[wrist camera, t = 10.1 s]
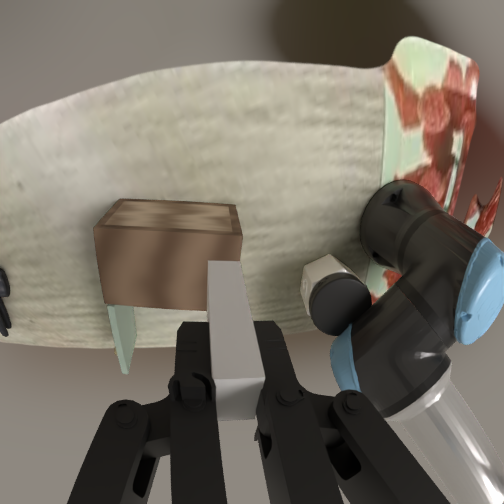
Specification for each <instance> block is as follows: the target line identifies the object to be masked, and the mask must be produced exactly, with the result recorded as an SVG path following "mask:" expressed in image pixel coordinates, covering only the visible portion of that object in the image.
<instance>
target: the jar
mask: <svg viewBox="0 0 504 504" xmlns="http://www.w3.org/2000/svg"><path fill="white" fill-rule="evenodd" d="M300 292H301V295H302V298H303V302H304V305H305V308H306V312H307V314H308V315H309V316H311V319H312V320H313V322H314V324H315V325H316V327H317V328H318V329H319V330H321V331H322V332H323V333H326V334H328V335H332V336H340V335H341V334H342V333H343V332H344V331H345V330H346V329H347V328H348V327H349V324H351V323H353V322H355V321H356V320H357V319H358V318H359V317H360V316H361V315H362V314H363V313H365V312H366V311H367V310H368V309H369V308H370V307H371V306H372V300H371V295H370V292H369V290H368V289H367V286H366V285H365V284H364V283H363V282H362V280H361V279H360V278H359V277H358V276H357V275H356V274H355V273H354V272H353V271H352V270H351V269H350V268H349V267H347V266H346V265H345V264H343V263H342V262H341V261H339V260H338V259H337V258H335V257H334V256H332V255H331V254H328V255H326V256H324V257H322V258H320V259H317V260H315V261H313V262H311V263H309V264H307V265H305V266H304V269H303V275H302V280H301V287H300Z"/></svg>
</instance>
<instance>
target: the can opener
mask: <svg viewBox="0 0 504 504" xmlns="http://www.w3.org/2000/svg"><path fill="white" fill-rule="evenodd" d="M9 295H10V287H9V282H8V279H7V276H6V274H5V272H4V271H3V270H2V269H0V332H1V334H2V335H3V336H5V337H7V336H8V335H9V334H8V331H7V329H10V328H11V322H10V319H9V316H8V313H7V311H6V309H5V306H4V304H3V302H2V299H1V297H8V296H9ZM6 328H7V329H6Z"/></svg>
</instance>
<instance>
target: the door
mask: <svg viewBox="0 0 504 504" xmlns="http://www.w3.org/2000/svg"><path fill="white" fill-rule="evenodd" d="M107 309H108V314H109V319H110V324H111V329H112V334H113V338H114V343H115V349H114V352H115V355H118V359H119V362H120V367H121V370H122V373H123V374H128V373H129V368H130V363H131V359H132V354H133V350H134V345H135V341H136V337H137V333H136V326H135V318H134V310H133V306H124V305H114V304H108V305H107Z"/></svg>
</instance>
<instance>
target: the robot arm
mask: <svg viewBox="0 0 504 504" xmlns="http://www.w3.org/2000/svg"><path fill="white" fill-rule="evenodd" d="M360 238H361V243H362V246H363V248H364V250H365V252H366V253H367V255H368V256H369V257H370V258H371V259H372V260H373V261H374V262H375V263H376V264H378V265H379V266H381V267H383V268H386V269H388V270H391V271H393V272H396V273H398V274H401V275H402V277H401V278H400V279H399V280H398V281H397V282H396V283H394V284H393V285H392V286H391V287H390V288H389V289H388V290H387V291H386V292H385V293H384V294H383V295H382V296H381V297H380V298H379V299H378V300H377V301H376V302H375V303H374V304H373V305H372V306H371V307H370V308H369V309H368V310H367V311H366V312H365V313H363V314H362V315H361V316H360V317H359V318H358V319H357V320H356V321H355V322H353V323H351V324H349V327H348V328H347V329H346V330H345V331H344V332H343V333H342V334H341V335H340V336H338V337H337V338H336V339H335V340H334V341H333V343H332V346H331V350H330V359H331V366H332V370H333V373H334V376H335V378H336V381H337V383H338V386H339V388H340V389H341V392H340V393H338V394H337V395H336V396H335V397H332V396H324V395H318V394H313V393H311V392H309V391H307V390H306V389H305V388H304V387H302V386H301V385H300V384H299V382H298V380H297V378H296V375H295V372H294V369H293V365H292V362H291V359H290V356H289V353H288V350H287V346H286V343H285V341H284V337H283V334H282V331H281V329H280V328H279V326H278V325H277V324H276V323H275V322H274V321H253V319H252V314H251V310H250V305H249V300H248V296H247V291H246V286H245V282H244V277H243V272H242V267H241V263H240V261H208V278H207V322H183V323H182V324H181V326H180V327H179V329H178V330H177V343H176V356H175V374H174V375H173V376H172V378H171V379H170V381H169V384H168V389H169V395H168V396H167V397H166V398H164V399H163V400H161V401H158V402H155V403H150V404H146V405H141V404H139V403H137V402H135V401H132V400H120V401H116V402H115V403H113V404H111V405H110V406H109V408H108V409H107V410H106V412H105V415H104V417H103V419H102V421H101V423H100V425H99V428H98V430H97V432H96V434H95V436H94V439H93V441H92V443H91V446H90V448H89V450H88V453H87V455H86V457H85V460H84V462H83V464H82V467H81V469H80V472H79V474H78V476H77V479H76V482H75V484H74V487H73V489H72V492H71V495H70V497H69V500H68V503H67V504H147V501H148V497H149V494H150V490H151V487H152V483H153V480H154V477H155V473H156V470H157V467H158V463H159V460H160V457H161V456H165V455H170V459H171V460H170V461H171V462H170V463H171V492H172V493H171V495H172V504H227V498H226V491H225V483H224V475H223V467H222V460H221V450H220V440H219V431H218V421H226V420H227V421H228V420H247V419H255V415H257V420H258V426H257V430H256V433H255V437H254V441H257V440H258V443H259V448H260V453H261V459H262V464H263V469H264V474H265V479H266V484H267V489H268V494H269V499H270V504H344V503H343V500H342V496H341V493H340V490H339V487H340V488H341V490H342V491H343V493H344V495H345V496H346V498H347V499H348V500H349V502H350V504H450V503H449V501H448V500H447V499H446V497H445V496H444V495H443V494H442V492H441V491H440V490H439V488H438V487H437V486H436V485H435V483H434V482H433V481H432V480H431V478H430V477H429V476H428V474H427V473H426V472H425V471H424V469H423V468H422V467H421V466H420V464H419V463H418V462H417V460H416V459H415V458H414V456H413V455H412V454H411V453H410V451H409V450H408V449H407V447H406V446H405V445H404V444H403V442H402V441H401V440H400V439H399V437H398V436H397V435H396V433H395V432H394V431H393V430H392V428H391V427H390V426H389V425H388V424H387V422H386V421H385V420H389V421H398V422H399V423H400V424H401V425H402V427H403V428H404V430H405V431H406V432H407V434H408V435H409V437H410V438H411V439H412V440H413V442H414V443H415V445H416V446H417V448H418V449H419V450H420V452H421V453H422V455H423V456H424V458H425V459H426V460H427V462H428V463H429V464H430V466H431V467H432V469H433V470H434V472H435V473H436V475H437V476H438V477H439V479H440V480H441V482H442V483H443V484H444V486H445V487H446V489H447V490H448V492H449V493H450V495H451V496H452V498H453V499H454V500H455V502H456V503H457V504H504V464H503V462H502V461H501V459H500V457H499V455H498V453H497V452H496V450H495V448H494V447H493V445H492V443H491V441H490V440H489V438H488V436H487V435H486V433H485V431H484V430H483V428H482V427H481V425H480V423H479V422H478V420H477V419H476V417H475V416H474V414H473V412H472V411H471V409H470V408H469V406H468V405H467V403H466V402H465V400H464V399H463V398H462V396H461V395H460V393H459V392H458V390H457V389H456V387H455V386H454V384H453V383H452V382H451V380H450V373H451V367H452V361H451V360H450V359H449V357H448V356H447V354H446V353H445V351H447V349H448V348H449V347H450V346H451V345H453V343H455V341H458V342H459V343H462V344H464V345H468V344H471V343H473V342H475V340H476V339H477V338H480V337H481V336H482V335H483V334H484V333H485V332H486V330H487V329H488V328H489V327H490V326H491V324H492V323H493V321H494V320H495V318H496V317H497V315H498V313H499V311H500V309H501V308H502V305H503V303H504V253H503V252H502V251H501V250H500V249H499V248H497V247H496V246H495V245H494V244H493V243H492V241H491V240H490V239H488V238H485V237H484V236H482V235H481V234H479V233H478V232H476V231H475V230H473V229H472V228H470V227H469V226H467V225H466V224H464V223H462V222H461V221H459V220H458V219H456V218H454V217H453V216H451V215H449V214H448V213H446V212H445V211H444V210H443V209H442V208H441V206H440V205H439V204H438V202H437V201H436V200H435V198H434V197H433V196H432V195H431V193H430V192H429V191H428V190H427V189H425V188H424V187H423V186H421V185H419V184H417V183H415V182H412V181H409V180H398V181H394V182H392V183H389V184H388V185H386V186H384V187H383V188H382V189H380V190H379V191H378V192H377V193H376V194H375V195H374V196H373V198H372V199H371V201H370V202H369V204H368V205H367V207H366V209H365V212H364V214H363V217H362V221H361V227H360ZM402 292H403V293H404V294H405V295H404V294H403V293H402ZM408 299H409V300H410V301H409V300H408ZM414 306H415V307H414ZM418 311H419V312H420V313H419V312H418ZM423 317H424V318H423ZM427 322H428V323H427ZM441 340H442V341H441ZM338 485H339V487H338Z"/></svg>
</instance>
